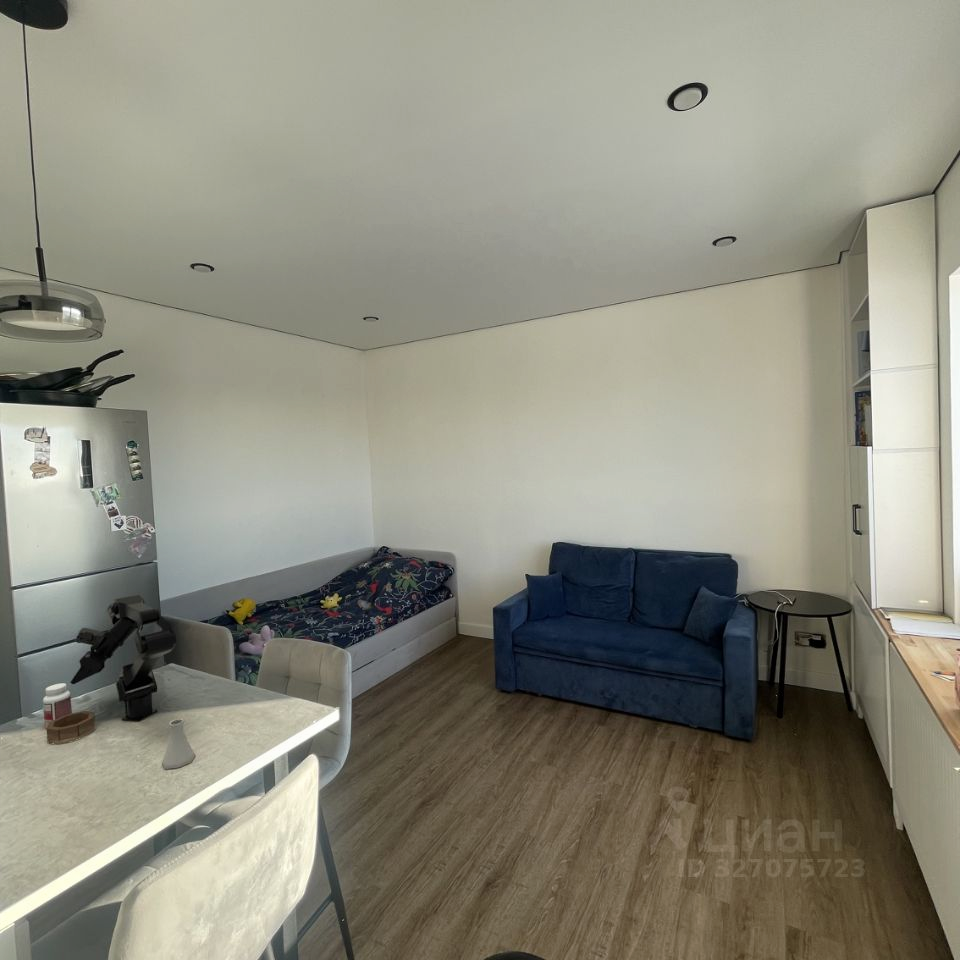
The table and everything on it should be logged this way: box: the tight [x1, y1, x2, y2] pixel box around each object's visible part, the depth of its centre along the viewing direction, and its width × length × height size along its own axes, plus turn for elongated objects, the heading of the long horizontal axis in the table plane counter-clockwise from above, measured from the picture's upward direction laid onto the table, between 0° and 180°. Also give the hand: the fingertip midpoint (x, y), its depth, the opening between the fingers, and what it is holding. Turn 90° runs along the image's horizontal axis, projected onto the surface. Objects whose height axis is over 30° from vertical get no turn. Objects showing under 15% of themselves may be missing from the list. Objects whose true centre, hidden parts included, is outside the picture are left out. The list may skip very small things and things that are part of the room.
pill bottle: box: [42, 682, 73, 729], centre depth 148 cm, size 6×6×11 cm
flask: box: [161, 718, 196, 770], centre depth 126 cm, size 7×7×10 cm
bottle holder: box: [46, 710, 97, 745], centre depth 142 cm, size 10×10×4 cm
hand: (76, 677), depth 150 cm, fingers open, 9 cm apart
